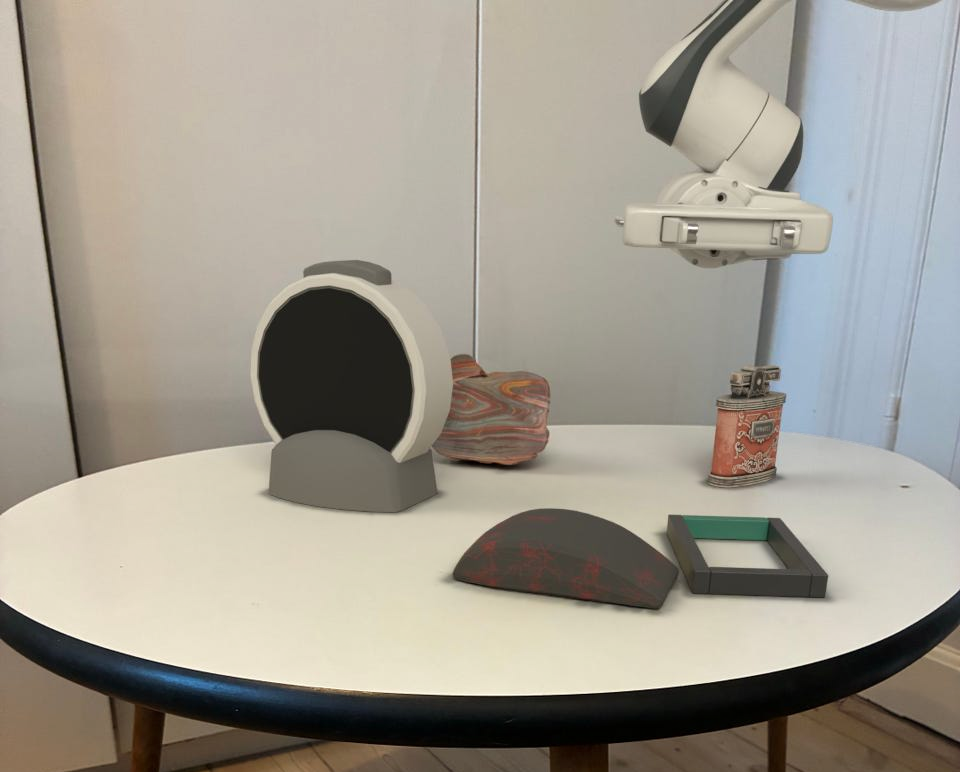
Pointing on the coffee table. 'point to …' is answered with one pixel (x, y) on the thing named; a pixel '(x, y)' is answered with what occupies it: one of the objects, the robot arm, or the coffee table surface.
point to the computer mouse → (569, 559)
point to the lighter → (747, 429)
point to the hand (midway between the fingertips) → (740, 236)
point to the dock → (794, 581)
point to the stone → (494, 415)
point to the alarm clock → (351, 389)
